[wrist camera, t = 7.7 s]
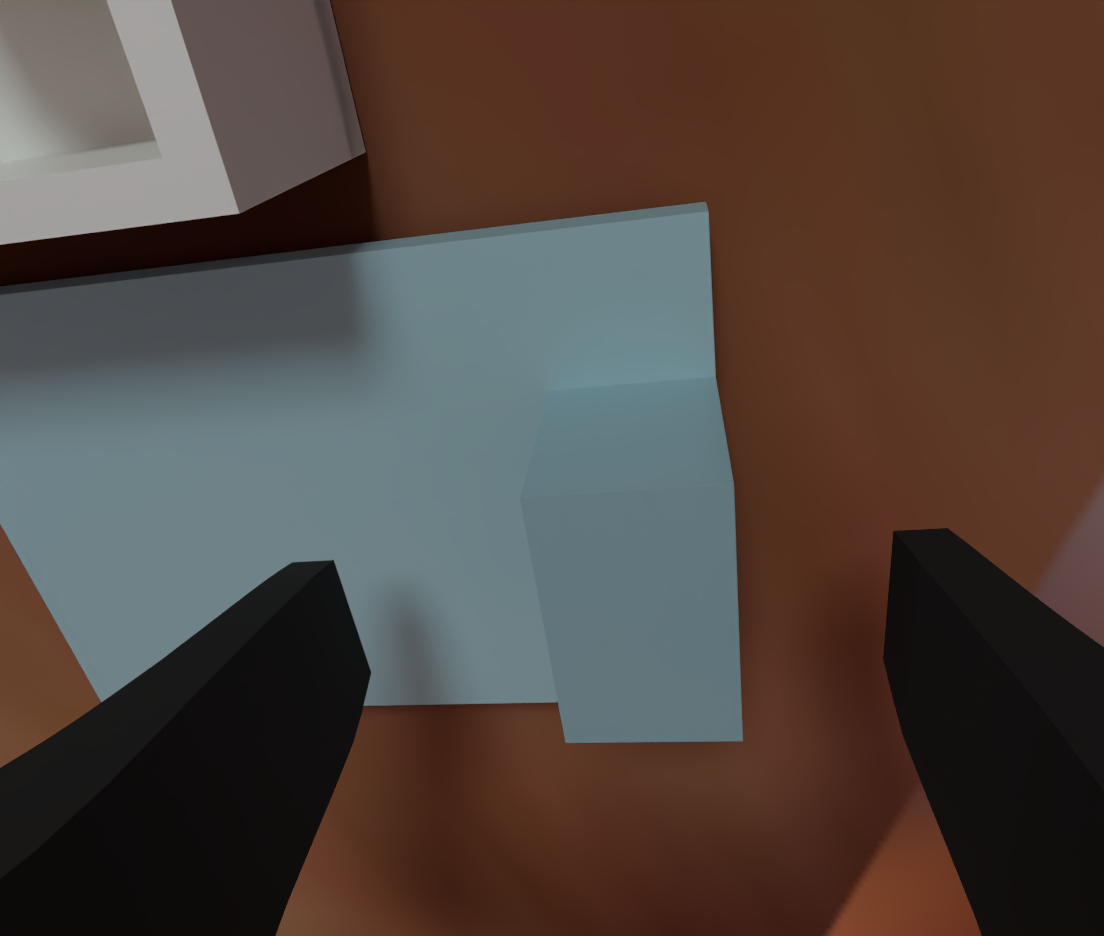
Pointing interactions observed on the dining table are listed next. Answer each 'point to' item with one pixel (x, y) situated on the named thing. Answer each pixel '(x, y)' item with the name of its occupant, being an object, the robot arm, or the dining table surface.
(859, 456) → the dining table surface
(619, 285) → the lid
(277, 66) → the tub
